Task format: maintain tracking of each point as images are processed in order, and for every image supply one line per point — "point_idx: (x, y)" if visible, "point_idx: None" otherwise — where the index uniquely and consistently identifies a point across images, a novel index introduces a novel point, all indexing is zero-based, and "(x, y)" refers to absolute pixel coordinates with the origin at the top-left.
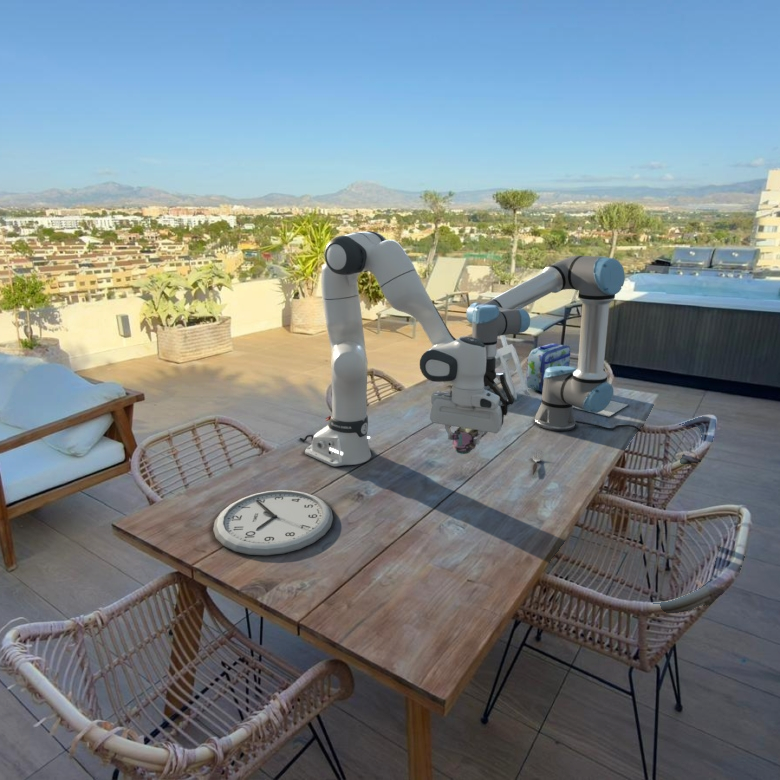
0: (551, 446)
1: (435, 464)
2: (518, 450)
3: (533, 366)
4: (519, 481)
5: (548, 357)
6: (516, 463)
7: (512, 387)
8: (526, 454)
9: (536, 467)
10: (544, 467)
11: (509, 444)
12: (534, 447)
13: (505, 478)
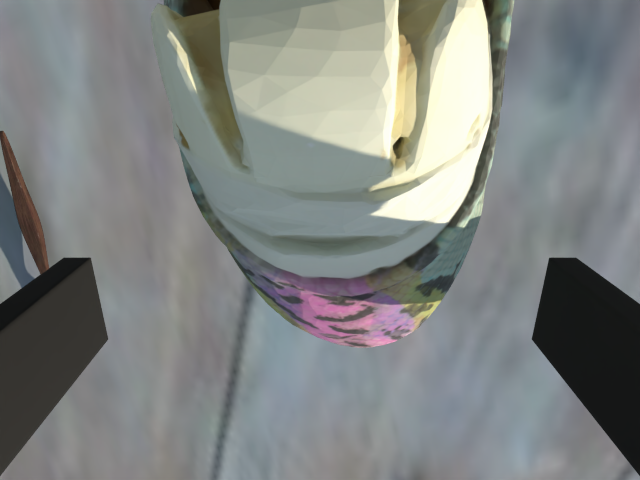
0: (62, 462)
1: (544, 59)
2: (173, 382)
3: None
4: (47, 35)
5: None
6: (136, 248)
7: None
8: (127, 357)
9: (17, 217)
10: (5, 256)
11: (227, 424)
12: (121, 431)
13: (127, 41)
